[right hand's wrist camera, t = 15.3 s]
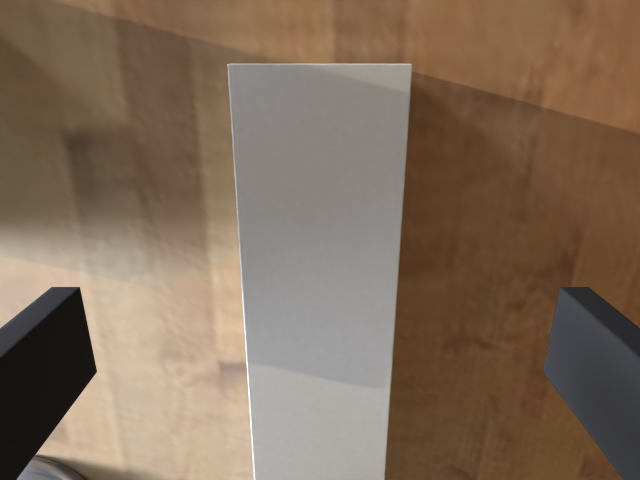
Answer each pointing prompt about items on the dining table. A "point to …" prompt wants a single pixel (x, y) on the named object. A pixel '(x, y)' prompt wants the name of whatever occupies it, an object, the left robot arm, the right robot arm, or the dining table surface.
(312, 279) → the slab
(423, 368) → the dining table surface
